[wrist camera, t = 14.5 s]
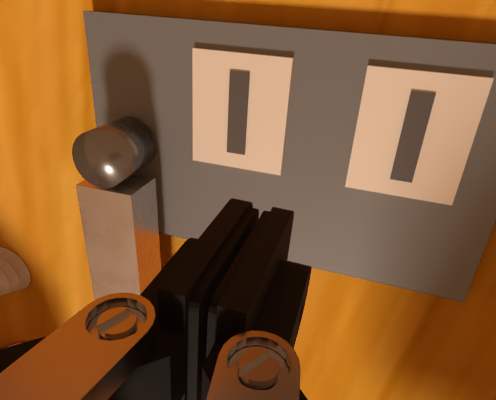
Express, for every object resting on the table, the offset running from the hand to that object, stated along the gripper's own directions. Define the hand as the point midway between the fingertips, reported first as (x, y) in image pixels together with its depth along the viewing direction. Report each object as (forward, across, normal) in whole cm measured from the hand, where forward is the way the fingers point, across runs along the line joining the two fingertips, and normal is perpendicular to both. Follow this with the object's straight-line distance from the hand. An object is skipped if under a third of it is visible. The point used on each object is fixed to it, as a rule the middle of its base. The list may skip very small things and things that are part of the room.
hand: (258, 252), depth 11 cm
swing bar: (+14, +12, +13) cm, 23 cm away
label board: (+15, +3, +3) cm, 16 cm away
